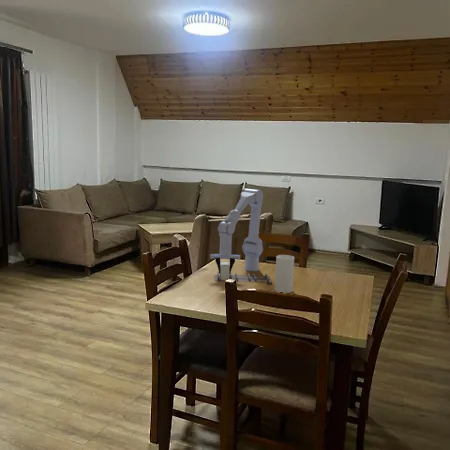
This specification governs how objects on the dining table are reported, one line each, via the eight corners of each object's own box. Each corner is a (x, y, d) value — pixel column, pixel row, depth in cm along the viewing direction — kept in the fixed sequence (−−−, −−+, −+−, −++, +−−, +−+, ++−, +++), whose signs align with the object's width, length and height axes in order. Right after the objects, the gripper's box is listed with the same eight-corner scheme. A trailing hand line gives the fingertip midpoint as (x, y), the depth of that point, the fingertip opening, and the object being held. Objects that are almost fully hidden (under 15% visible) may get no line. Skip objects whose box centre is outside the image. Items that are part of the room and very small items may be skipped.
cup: (291, 293, 207) (293, 259, 204) (273, 292, 208) (275, 258, 206) (292, 288, 215) (294, 255, 212) (275, 287, 216) (277, 254, 214)
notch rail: (214, 276, 230) (214, 271, 230) (269, 277, 231) (269, 273, 231) (214, 282, 219) (214, 277, 219) (272, 284, 220) (272, 279, 220)
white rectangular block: (219, 275, 229) (220, 262, 227) (228, 275, 229) (229, 262, 228) (220, 280, 221) (220, 266, 220) (229, 280, 221) (229, 266, 220)
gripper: (210, 247, 218) (209, 275, 220) (241, 248, 218) (239, 275, 221) (210, 244, 225) (209, 271, 227) (240, 245, 225) (238, 271, 228)
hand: (224, 273), depth 224 cm, fingers closed on white rectangular block, 4 cm apart
